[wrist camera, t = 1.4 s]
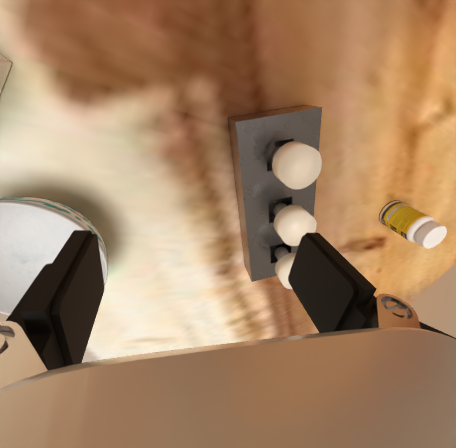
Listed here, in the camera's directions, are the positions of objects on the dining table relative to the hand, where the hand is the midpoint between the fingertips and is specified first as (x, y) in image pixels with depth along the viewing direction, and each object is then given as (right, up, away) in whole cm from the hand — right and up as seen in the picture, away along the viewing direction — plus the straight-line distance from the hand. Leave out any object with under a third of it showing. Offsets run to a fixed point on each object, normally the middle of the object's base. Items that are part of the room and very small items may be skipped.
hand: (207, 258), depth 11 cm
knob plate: (+7, +5, +25) cm, 26 cm away
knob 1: (+9, -3, +25) cm, 27 cm away
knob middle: (+8, +4, +21) cm, 23 cm away
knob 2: (+7, +10, +17) cm, 21 cm away
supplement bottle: (+30, +4, +32) cm, 44 cm away
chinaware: (-22, +1, +20) cm, 30 cm away
